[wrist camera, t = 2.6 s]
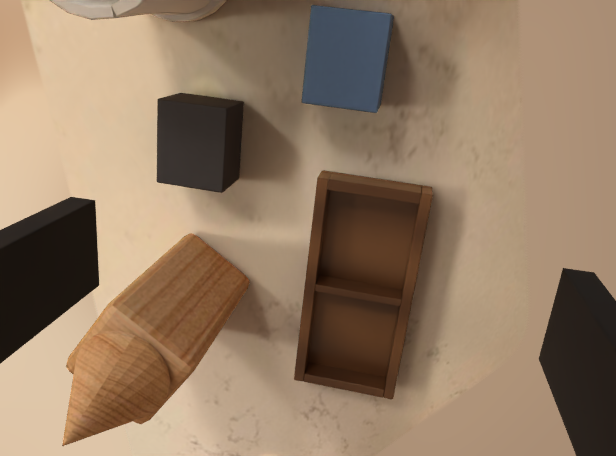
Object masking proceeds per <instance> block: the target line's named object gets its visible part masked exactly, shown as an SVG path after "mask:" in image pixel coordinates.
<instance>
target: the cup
mask: <svg viewBox="0 0 616 456" xmlns="http://www.w3.org/2000/svg"><path fill="white" fill-rule="evenodd" d="M50 1H51V2H53V3H54V4H56V5H57V6H59V7H60V8H61V9H63V10H64V11H66V12H67V13H71V14H74V15H77V16H81V17H84V18H88V19H91V20H95V19H109V18H119V17H127V16H134V15H143V14H152V15H153V16H155V17H158V18H162V19H165V20H169V21H172V22H186V21H198V20H200V19H202V18H204V17H207V16H209V15H211V14H213V13H215V12H216V11H217V10H218V9H219V8H220V7H221V6H222V5H223V4H224V3H225V2H226V1H227V0H50Z"/></svg>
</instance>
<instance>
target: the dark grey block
mask: <svg viewBox="0 0 616 456" xmlns="http://www.w3.org/2000/svg"><path fill="white" fill-rule="evenodd" d="M243 106H244V102H243V101H236V100H229V99H222V98H214V97H207V96H200V95H192V94H185V93H179V94H175V95H171V96H167V97H163V98H160V99H158V120H157V182H158V183H165V184H171V185H177V186H183V187H190V188H196V189H202V190H208V191H215V192H221V193H222V192H224V191H225V190H226V189H227V188H228V187H230V186H231V185H232V184H233V183H234V182H236V181H237V180H238V179H239V168H240V152H241V137H242V121H243Z"/></svg>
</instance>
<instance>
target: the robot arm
mask: <svg viewBox="0 0 616 456" xmlns="http://www.w3.org/2000/svg"><path fill="white" fill-rule="evenodd" d="M98 286H99V271H98V250H97V230H96V209H95V200H89V199H82V198H75V197H70V198H68V199H66V200H64V201H61V202H59V203H57V204H55V205H53V206H51V207H49V208H47V209H44V210H42V211H40V212H38V213H36V214H34V215H31V216H29V217H27V218H25V219H23V220H21V221H19V222H17V223H15V224H12V225H10V226H8V227H6V228H4V229H2V230H0V363H2V362H3V361H4V360H5V359H6V358H8V357H9V356H10V355H12V354H13V353H14V352H15V351H17V350H18V349H19V348H20V347H22V346H23V345H24V344H26V343H27V342H28V341H29V340H30V339H32V338H33V337H34V336H36V335H37V334H38V333H39V332H41V331H42V330H43V329H44V328H46V327H47V326H48V325H50V324H51V323H52V322H53V321H55V320H56V319H57V318H58V317H60V316H61V315H62V314H63V313H65V312H66V311H67V310H68V309H70V308H71V307H72V306H73V305H75V304H76V303H77V302H79V301H80V300H81V299H82V298H84V297H85V296H86V295H87V294H89V293H90V292H91V291H92V290H94V289H95V288H96V287H98ZM539 361H540V363H541V366H542V368H543V371H544V374H545V376H546V379H547V381H548V384H549V386H550V389H551V391H552V394H553V397H554V399H555V402H556V404H557V407H558V410H559V412H560V415H561V417H562V420H563V422H564V425H565V428H566V430H567V433H568V435H569V438H570V440H571V443H572V446H573V448H574V451H575V453H576V456H616V301H615V299H614V298H613V297H612V295H611V294H610V293H609V291H608V290H607V289H606V288H605V286H604V285H603V284H602V282H601V281H600V280H599V279H598V277H597V276H596V274H595V273H593V272H586V271H579V270H573V269H566V268H563V271H562V274H561V278H560V282H559V285H558V289H557V293H556V296H555V300H554V304H553V308H552V311H551V315H550V319H549V323H548V326H547V330H546V334H545V338H544V342H543V345H542V349H541V352H540V356H539Z"/></svg>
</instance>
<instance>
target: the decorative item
mask: <svg viewBox="0 0 616 456" xmlns="http://www.w3.org/2000/svg"><path fill="white" fill-rule="evenodd" d="M249 283H250V282H249V279H248V278H247V277H246V276H245V275H244V274H243V273H242V272H240V271H239V270H238V269H237V268H235V267H234V266H233V265H232V264H231V263H229V262H228V261H227V260H226V259H224V258H223V257H222V256H221V255H220V254H218V253H217V252H216V251H215V250H213V249H212V248H211V247H210V246H209V245H207V244H206V243H205V242H204V241H202V240H201V239H200V238H199V237H198V236H196V235H194V234H188V235H186V236H185V237H183V238H182V239H181V240H180V241H179V242H178V243H177V244H176V245H174V246H173V247H172V248H171V249H170V250H169V251H168V252H166V253H165V254H164V255H163V256H162V257H161V258H160V259H159V260H157V261H156V262H155V263H154V264H153V265H152V266H151V267H150V268H148V269H147V270H146V271H145V272H144V273H143V274H142V275H141V276H139V277H138V278H137V279H136V280H135V281H134V282H133V283H132V284H130V285H129V286H128V287H127V288H126V289H125V290H124V291H122V292H121V293H120V294H119V295H118V296H117V297H116V298H115V299H113V300H112V301H111V302H110V303H109V304H108V305H107V307H106V308H105V309H104V311H103V312H102V313H101V315H100V316H99V317H98V319H97V320H96V321H95V323H94V324H93V325H92V327H91V328H90V329H89V331H88V332H87V333H86V335H85V336H84V337H83V339H82V340H81V341H80V343H79V344H78V345H77V347H76V348H75V349H74V351H73V352H72V353H71V355H70V356H69V358H68V361H67V365H66V367H67V368H68V370H69V371H70V372H71V373H72V374H73V382H72V388H71V394H70V401H69V408H68V414H67V420H66V427H65V432H64V440H63V445H62V446H64V445H67V444H70V443H73V442H76V441H78V440H81V439H84V438H87V437H90V436H92V435H95V434H98V433H101V432H104V431H106V430H109V429H112V428H115V427H118V426H120V425H123V424H126V423H129V422H132V421H134V422H136V423H139V424H142V423H144V422H146V421H148V420H150V419H151V418H152V417H153V416H154V415H155V413H156V412H157V411H158V410H159V409H160V408H161V407H162V406H163V405H164V403H165V402H166V401H167V400H168V399H169V398H170V397H171V396H172V395H173V394H174V392H175V391H176V390H177V389H178V388H179V387H180V386H181V385H182V384H183V382H184V381H185V380H186V379H187V378H188V377H189V376H190V375H191V374H192V373H193V371H194V370H195V368H196V367H197V365H198V364H199V362H200V361H201V359H202V358H203V356H204V355H205V353H206V352H207V350H208V349H209V347H210V346H211V344H212V342H213V341H214V339H215V338H216V336H217V335H218V333H219V332H220V330H221V329H222V327H223V326H224V324H225V323H226V321H227V319H228V318H229V316H230V315H231V313H232V312H233V310H234V309H235V307H236V306H237V304H238V303H239V301H240V300H241V298H242V296H243V295H244V293H245V292H246V290H247V289H248V286H249Z"/></svg>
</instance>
